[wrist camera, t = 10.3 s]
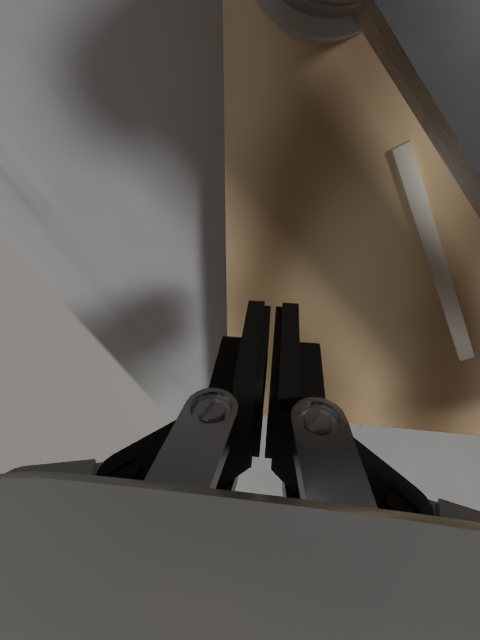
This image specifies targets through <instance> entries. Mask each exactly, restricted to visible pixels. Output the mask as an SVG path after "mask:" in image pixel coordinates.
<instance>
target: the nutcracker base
mask: <svg viewBox="0 0 480 640" xmlns="http://www.w3.org/2000/svg"><path fill="white" fill-rule="evenodd" d="M222 2H223V73H224V145H225V216H226V288H227V336H231V337H242V332H243V327H244V322H245V317H246V312H247V307H248V302H249V300H253V301H265V306H271V312H270V328H269V344H268V360H267V374H266V385H265V397H264V408H263V415H268V406H269V392H270V379H271V365H272V352H273V339H274V326H275V313H276V306H279V307H282V303H298V304H299V333H300V342H308V343H319V344H320V348H321V358H322V368H323V378H324V388H325V398H326V399H327V400H330V401H331V402H333V403H335V404H337V405H338V406H339V407H340V408H341V409H342V410H343V412H344V414H345V416H346V418H347V421H348V423H353V424H363V425H374V426H384V427H395V428H405V429H416V430H426V431H437V432H447V433H457V434H468V435H478V436H480V219H479V217H478V216H477V214H476V212H475V211H474V209H473V208H472V206H471V204H470V203H469V201H468V200H467V198H466V196H465V195H464V193H463V192H462V190H461V189H460V187H459V185H458V184H457V182H456V181H455V179H454V177H453V176H452V174H451V173H450V171H449V169H448V168H447V166H446V165H445V163H444V162H443V160H442V158H441V157H440V155H439V154H438V152H437V150H436V149H435V147H434V146H433V144H432V142H431V141H430V139H429V138H428V136H427V134H426V133H425V131H424V130H423V128H422V127H421V125H420V123H419V122H418V120H417V119H416V117H415V115H414V114H413V112H412V111H411V109H410V107H409V106H408V104H407V103H406V101H405V100H404V98H403V96H402V95H401V93H400V92H399V90H398V88H397V87H396V85H395V84H394V82H393V80H392V79H391V77H390V76H389V74H388V72H387V71H386V69H385V68H384V66H383V65H382V63H381V61H380V60H379V58H378V57H377V55H376V53H375V52H374V50H373V49H372V47H371V45H370V44H369V42H368V41H367V39H366V38H365V36H364V34H363V33H362V31H361V30H360V28H359V26H358V25H357V23H356V22H355V20H354V18H353V17H352V16H347V17H343V18H332V19H327V18H317V17H313V16H310V15H306V14H303V13H301V12H299V11H297V10H295V9H293V8H291V7H290V6H289V5H287V4H286V3H284V2H283V1H282V0H222Z"/></svg>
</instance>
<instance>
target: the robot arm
mask: <svg viewBox="0 0 480 640" xmlns="http://www.w3.org/2000/svg"><path fill="white" fill-rule="evenodd" d="M270 312H271V306H265V301H253V300H249V302H248V307H247V312H246V317H245V322H244V327H243V332H242V337H231V336H223V338H222V341H221V344H220V348H219V352H218V356H217V359H216V363H215V367H214V370H213V374H212V378H211V381H210V385H209V388H206V389H202V390H200V391H197V392H195V393H194V394H193V395H191V396H190V397H189V399H188V400H187V401H186V403H185V405H184V407H183V408H182V410H181V412H180V414H179V416H178V418H177V420H175V421H173V422H172V423H170V424H168V425H166V426H164V427H162V428H161V429H159V430H157V431H155V432H153V433H151V434H150V435H148V436H146V437H144V438H142V439H141V440H139V441H137V442H135V443H133V444H131V445H130V446H128V447H126V448H124V449H122V450H120V451H119V452H117V453H115V454H113V455H112V456H111V457H109V458H108V459H106V460H105V461H104V462H101V463H96V460H95V459H90V460H80V461H70V462H61V463H51V464H40V465H31V466H23V467H18V468H14V469H13V470H10V471H9V472H7V473H4V474H0V640H480V511H477V510H474V509H471V508H468V507H464V506H461V505H458V504H455V503H452V502H449V501H446V500H442V499H438V501H437V502H434V501H431V500H428V499H427V497H426V496H425V495H424V494H423V493H422V492H421V491H420V490H419V489H418V488H417V487H415V486H414V485H413V484H412V483H410V482H409V481H408V480H406V479H405V478H404V477H403V476H401V475H400V474H399V473H398V472H396V471H395V470H394V469H393V468H391V467H390V466H389V465H388V464H386V463H385V462H384V461H383V460H381V459H380V458H379V457H378V456H376V455H375V454H374V453H373V452H371V451H370V450H369V449H368V448H366V447H365V446H364V445H363V444H361V443H360V442H359V441H357V440H356V439H355V438H354V437H353V435H352V432H351V429H350V426H349V424H348V421H347V418H346V416H345V414H344V412H343V410H342V409H341V408H340V407H339V406H338V405H337V404H335V403H333V402H331V401H330V400H327V399H326V398H325V388H324V378H323V368H322V358H321V348H320V344H319V343H308V342H300V333H299V304H298V303H282V307H279V306H276V313H275V326H274V339H273V352H272V365H271V379H270V392H269V406H268V420H267V434H266V448H265V458H272V465H271V470H272V471H273V472H274V473H275V474H276V475H277V476H278V477H279V478H280V479H281V480H282V481H283V484H282V490H283V497H280V496H271V495H263V494H255V493H246V492H238V491H235V489H236V485H237V480H238V475H240V474H241V473H243V472H244V471H245V470H247V469H248V468H250V467H251V463H252V456H254V457H259V452H260V441H261V430H262V419H263V408H264V397H265V385H266V374H267V360H268V344H269V328H270Z"/></svg>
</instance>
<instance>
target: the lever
mask: <svg viewBox="0 0 480 640" xmlns="http://www.w3.org/2000/svg"><path fill="white" fill-rule="evenodd" d="M282 1H283V2H284V3H286V4H287V5H289V6H290V7H291V8H293V9H295V10H297V11H299V12H301V13H303V14H306V15H310V16H313V17H317V18H327V19H332V18H343V17H347V16H352V17H353V18H354V20H355V22H356V23H357V25H358V26H359V28H360V30H361V31H362V33H363V34H364V36H365V38H366V39H367V41H368V42H369V44H370V45H371V47H372V49H373V50H374V52H375V53H376V55H377V57H378V58H379V60H380V61H381V63H382V65H383V66H384V68H385V69H386V71H387V72H388V74H389V76H390V77H391V79H392V80H393V82H394V84H395V85H396V87H397V88H398V90H399V92H400V93H401V95H402V96H403V98H404V100H405V101H406V103H407V104H408V106H409V107H410V109H411V111H412V112H413V114H414V115H415V117H416V119H417V120H418V122H419V123H420V125H421V127H422V128H423V130H424V131H425V133H426V134H427V136H428V138H429V139H430V141H431V142H432V144H433V146H434V147H435V149H436V150H437V152H438V154H439V155H440V157H441V158H442V160H443V162H444V163H445V165H446V166H447V168H448V169H449V171H450V173H451V174H452V176H453V177H454V179H455V181H456V182H457V184H458V185H459V187H460V189H461V190H462V192H463V193H464V195H465V196H466V198H467V200H468V201H469V203H470V204H471V206H472V208H473V209H474V211H475V212H476V214H477V216H478V217H479V219H480V0H282Z"/></svg>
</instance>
